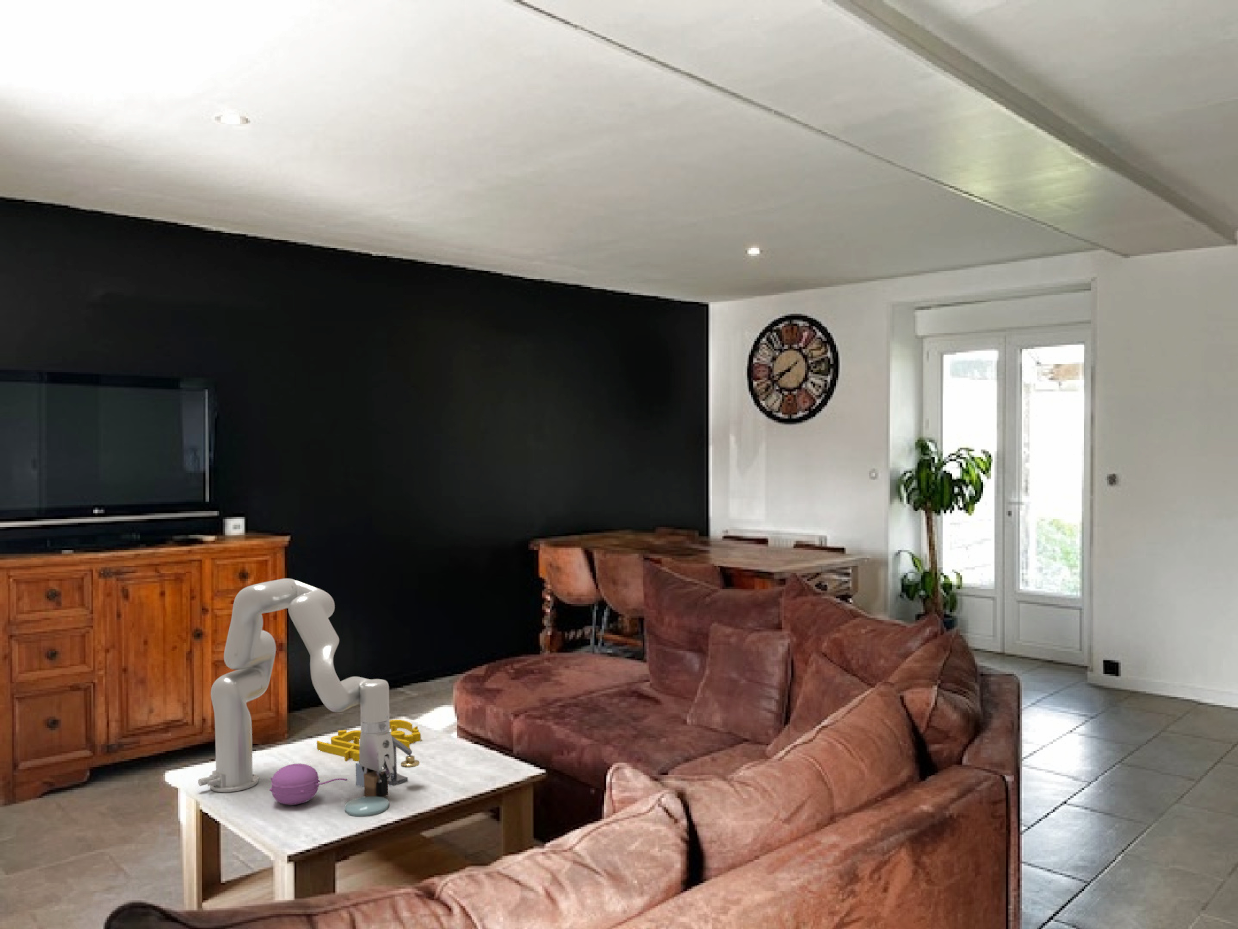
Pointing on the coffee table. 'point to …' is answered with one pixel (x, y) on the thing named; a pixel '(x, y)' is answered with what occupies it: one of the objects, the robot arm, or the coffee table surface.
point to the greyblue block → (359, 775)
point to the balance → (409, 763)
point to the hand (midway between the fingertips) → (376, 793)
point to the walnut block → (371, 784)
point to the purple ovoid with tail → (296, 784)
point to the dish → (366, 806)
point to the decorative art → (351, 750)
